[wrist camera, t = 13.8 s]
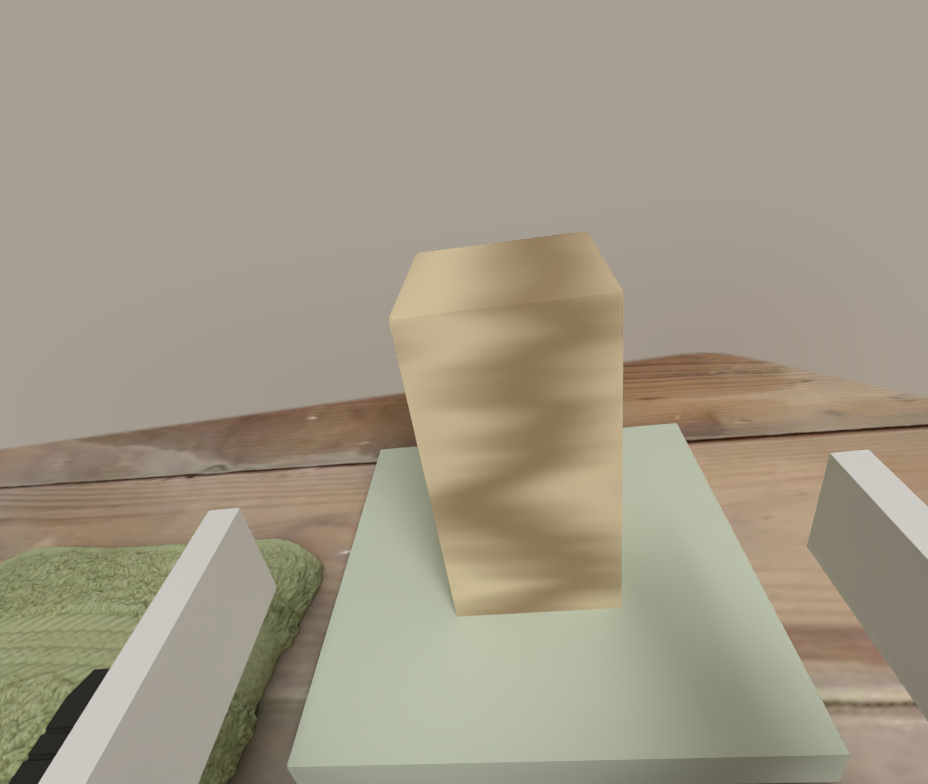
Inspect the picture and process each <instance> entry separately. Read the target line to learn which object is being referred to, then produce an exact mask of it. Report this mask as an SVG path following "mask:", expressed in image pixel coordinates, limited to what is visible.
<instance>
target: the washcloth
mask: <svg viewBox="0 0 928 784" xmlns="http://www.w3.org/2000/svg"><path fill="white" fill-rule="evenodd" d="M255 541H256V544H257V546H258V548H259V550H260V552H261V554H262V556H263V559H264V561H265V563H266V565H267V567H268V569H269V571H270V573H271V576H272V578H273V580H274V582H275V584H276V586H277V588H276V591H275V593H274V596H273V598H272V601H271V603H270V606H269V608H268V611H267V613H266V616H265V618H264V621H263V623H262V626H261V628H260V631H259V633H258V636H257V638H256V641H255V643H254V646H253V648H252V651H251V653H250V656H249V658H248V661H247V663H246V666H245V668H244V671H243V673H242V676H241V678H240V681H239V683H238V686H237V688H236V691H235V693H234V696H233V698H232V701H231V703H230V706H229V708H228V711H227V713H226V716H225V718H224V721H223V723H222V726H221V728H220V731H219V733H218V736H217V738H216V741H215V743H214V746H213V748H212V751H211V753H210V756H209V758H208V760H207V763H206V765H205V768H204V770H203V773H202V775H201V778H200V780H199V783H198V784H228V780H229V779H230V778H232V777H233V776H234V775H235V771H236V770H237V764H238V763H239V759H240V758H241V755H242V752H243V749H244V747H245V746H246V745H247V744H248V742H249V741H250V738H251V737H252V736H253V734H254V726H255V723H256V722H257V720H258V719H257V718H256V716H255V710H256V707H257V704H258V702H259V701H260V700H261V698H262V696H263V694H264V691H265V688H266V686H267V684H268V682H269V680H270V678H271V676H272V673H273V668H274V666H275V663H276V661H277V659H278V657H279V656H280V655H281V654H282V653H283V652H284V651H285V650H286V648H288V647H289V646H291V645H292V642H293V638H294V637H295V636H296V635H297V634H298V631H299V627H298V623H299V621H301V620H302V618H303V616H304V615H303V614H304V612H305V610H306V609H307V607H308V606H309V605H310V604H311V602H312V599H313V596H314V595H316V591H317V589H318V588H319V586H320V584H321V581H322V578H323V577H322V571H323V565H322V563H321V562H320V561H319V560H318V559H317V558H316V557H315V556H314V555H312V554H311V553H310V552H308V551H307V550H306V549H304V548H303V547H301V546H299V545H298V544H295V543H293V542H291V541H290V540H285V539H278V538H275V539H260V540H255ZM186 547H187V545H183V544H166V545H159V546H135V547H120V548H99V547H78V546H70V547H67V546H55V547H43V548H36V549H32V550H29V551H26V552H23V553H21V554H18V555H16V556H14V557H12V558H10V559H8V560H6V561H4V562H2V563H0V784H9V782H10V781H11V779H12V778H13V776H14V775H15V773H16V772H17V770H18V769H19V767H20V766H21V764H22V763H23V761H26V760H27V759H28V754H29V752H30V751H31V749H32V748H33V746H34V745H35V743H36V742H37V740H38V739H39V737H40V736H41V734H44V733H45V732H46V727H47V725H48V724H49V722H50V721H51V719H52V718H53V716H54V715H55V713H56V712H57V710H58V709H59V707H60V706H61V704H62V703H63V701H64V700H65V698H66V697H67V696H68V695H69V694H70V693H71V692H72V691H73V690H74V689H75V688H76V687H77V686H78V685H79V684H80V683H81V682H82V681H83V680H84V679H85V678H86V677H87V676H88V675H89V674H90V673H91V672H92V671H93V670H94V669H108V668H111V666H112V665H113V663H114V662H115V660H116V658H117V657H118V655H119V654H120V652H121V650H122V649H123V647H124V646H125V644H126V642H127V641H128V639H129V638H130V636H131V634H132V633H133V631H134V630H135V628H136V626H137V625H138V623H139V622H140V620H141V618H142V617H143V615H144V614H145V612H146V610H147V609H148V607H149V606H150V604H151V602H152V601H153V599H154V598H155V596H156V594H157V593H158V591H159V590H160V588H161V586H162V585H163V583H164V582H165V580H166V578H167V577H168V575H169V574H170V572H171V571H172V569H173V567H174V566H175V564H176V563H177V561H178V559H179V558H180V556H181V555H182V553H183V551H184V550H185V548H186Z"/></svg>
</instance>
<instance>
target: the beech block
mask: <svg viewBox="0 0 928 784" xmlns="http://www.w3.org/2000/svg"><path fill="white" fill-rule="evenodd" d="M389 324H390V328H391V332H392V337H393V341H394V346H395V350H396V354H397V359H398V363H399V367H400V372H401V376H402V380H403V384H404V389H405V394H406V398H407V402H408V407H409V411H410V415H411V420H412V424H413V428H414V433H415V437H416V441H417V446H418V450H419V454H420V459H421V463H422V467H423V472H424V476H425V480H426V485H427V489H428V493H429V498H430V502H431V506H432V511H433V515H434V519H435V524H436V528H437V532H438V537H439V541H440V545H441V550H442V554H443V558H444V563H445V567H446V571H447V576H448V580H449V584H450V589H451V593H452V597H453V602H454V606H455V610H456V615H457V617H459V616H477V615H496V614H515V613H534V612H553V611H572V610H591V609H610V608H622V443H623V291H622V289H621V287H620V285H619V284H618V282H617V280H616V279H615V277H614V275H613V274H612V272H611V270H610V269H609V267H608V265H607V264H606V262H605V260H604V259H603V257H602V255H601V253H600V252H599V250H598V248H597V247H596V245H595V243H594V242H593V240H592V238H591V237H590V235H589V233H588V232H587V231H583V232H576V233H568V234H560V235H553V236H545V237H538V238H530V239H522V240H514V241H507V242H499V243H491V244H484V245H477V246H468V247H461V248H454V249H446V250H438V251H430V252H423V253H417V254H416V256H415V258H414V261H413V263H412V265H411V268H410V270H409V272H408V275H407V277H406V279H405V282H404V284H403V286H402V289H401V291H400V294H399V296H398V298H397V301H396V303H395V305H394V308H393V310H392V313H391V315H390V317H389Z"/></svg>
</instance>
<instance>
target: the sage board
mask: <svg viewBox="0 0 928 784" xmlns="http://www.w3.org/2000/svg"><path fill="white" fill-rule="evenodd" d="M849 757H850V753H849V751H848V749H847V748H846V746H845V744H844V742H843V740H842V738H841V736H840V734H839V732H838V730H837V728H836V727H835V725H834V723H833V721H832V719H831V717H830V715H829V713H828V711H827V709H826V707H825V706H824V704H823V702H822V700H821V698H820V696H819V694H818V692H817V690H816V688H815V686H814V685H813V683H812V681H811V679H810V677H809V675H808V673H807V671H806V669H805V667H804V665H803V664H802V662H801V660H800V658H799V656H798V654H797V652H796V650H795V648H794V646H793V644H792V643H791V641H790V639H789V637H788V635H787V633H786V631H785V629H784V627H783V625H782V623H781V622H780V620H779V618H778V616H777V614H776V612H775V610H774V608H773V606H772V604H771V602H770V601H769V599H768V597H767V595H766V593H765V591H764V589H763V587H762V585H761V583H760V581H759V580H758V578H757V576H756V574H755V572H754V570H753V568H752V566H751V564H750V562H749V560H748V559H747V557H746V555H745V553H744V551H743V549H742V547H741V545H740V543H739V541H738V539H737V538H736V536H735V534H734V532H733V530H732V528H731V526H730V524H729V522H728V520H727V518H726V517H725V515H724V513H723V511H722V509H721V507H720V505H719V503H718V501H717V499H716V497H715V496H714V494H713V492H712V490H711V488H710V486H709V484H708V482H707V480H706V478H705V476H704V475H703V473H702V471H701V469H700V467H699V465H698V463H697V461H696V459H695V457H694V455H693V454H692V452H691V450H690V448H689V446H688V444H687V442H686V440H685V438H684V436H683V434H682V433H681V431H680V429H679V427H678V425H677V423H673V424H662V425H651V426H640V427H629V428H623V443H622V608H610V609H591V610H572V611H553V612H534V613H515V614H496V615H477V616H459V617H457V615H456V610H455V606H454V602H453V597H452V593H451V589H450V584H449V580H448V576H447V571H446V567H445V563H444V558H443V554H442V550H441V545H440V541H439V537H438V532H437V528H436V524H435V519H434V515H433V511H432V506H431V502H430V498H429V493H428V489H427V485H426V480H425V476H424V472H423V467H422V463H421V459H420V454H419V450H418V446H417V447H406V448H395V449H384V450H381V451H380V454H379V458H378V461H377V465H376V468H375V471H374V475H373V478H372V481H371V485H370V488H369V492H368V495H367V498H366V502H365V505H364V508H363V512H362V515H361V518H360V522H359V525H358V529H357V532H356V535H355V539H354V542H353V545H352V549H351V552H350V555H349V559H348V562H347V566H346V569H345V572H344V576H343V579H342V582H341V586H340V589H339V592H338V596H337V599H336V603H335V606H334V609H333V613H332V616H331V619H330V623H329V626H328V629H327V633H326V636H325V640H324V643H323V646H322V650H321V653H320V656H319V660H318V663H317V666H316V670H315V673H314V677H313V680H312V683H311V687H310V690H309V693H308V697H307V700H306V704H305V707H304V710H303V714H302V717H301V720H300V724H299V727H298V730H297V734H296V737H295V741H294V744H293V747H292V751H291V754H290V757H289V761H288V764H287V769H288V770H289V772H290V774H291V775H292V777H293V779H294V780H295V782H296V783H297V784H752V783H811V782H839V780H840V778H841V776H842V773H843V771H844V769H845V766H846V764H847V761H848V759H849Z"/></svg>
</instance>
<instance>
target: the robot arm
mask: <svg viewBox="0 0 928 784" xmlns="http://www.w3.org/2000/svg"><path fill="white" fill-rule="evenodd" d="M807 547H808V548H809V550H810V551H811V553H812V554H813V555H814V557H815V558H816V560H817V561H818V563H819V564H820V566H821V567H822V569H823V570H824V571H825V573H826V574H827V576H828V577H829V579H830V580H831V582H832V583H833V584H834V586H835V587H836V589H837V590H838V592H839V593H840V595H841V596H842V597H843V599H844V600H845V602H846V603H847V605H848V606H849V608H850V609H851V611H852V612H853V613H854V615H855V616H856V618H857V619H858V621H859V622H860V624H861V625H862V626H863V628H864V629H865V631H866V632H867V634H868V635H869V637H870V638H871V640H872V641H873V642H874V644H875V645H876V647H877V648H878V650H879V651H880V653H881V654H882V655H883V657H884V658H885V660H886V661H887V663H888V664H889V666H890V667H891V669H892V670H893V671H894V673H895V674H896V676H897V677H898V679H899V680H900V682H901V683H902V684H903V686H904V687H905V689H906V690H907V692H908V693H909V695H910V696H911V698H912V699H913V700H914V702H915V703H916V705H917V706H918V708H919V709H920V711H921V712H922V713H923V715H924V716H925V718H926V719H927V721H928V507H927V506H926V505H925V504H924V503H923V502H922V501H921V500H920V499H919V498H918V497H917V496H916V495H915V494H914V493H913V492H912V491H911V490H910V489H909V488H908V487H907V486H906V485H905V484H904V483H902V482H901V481H900V480H899V479H898V478H897V477H896V476H895V475H894V474H893V473H892V472H891V471H890V470H889V469H888V468H887V467H886V466H885V465H884V464H883V463H882V462H881V461H880V460H879V459H878V458H877V457H876V456H875V455H874V454H873V453H872V452H871V451H869V450H859V451H849V452H838V453H830V455H829V459H828V463H827V468H826V472H825V476H824V480H823V484H822V488H821V492H820V496H819V500H818V504H817V508H816V512H815V516H814V520H813V524H812V528H811V532H810V537H809V541H808V545H807ZM276 588H277V586H276V584H275V582H274V580H273V578H272V576H271V573H270V571H269V569H268V567H267V565H266V563H265V561H264V559H263V556H262V554H261V552H260V550H259V548H258V546H257V544H256V541H255V539H254V537H253V535H252V533H251V531H250V529H249V527H248V524H247V522H246V520H245V518H244V516H243V514H242V512H241V510H240V508H233V509H222V510H211V511H208V513H207V515H206V516H205V518H204V519H203V521H202V523H201V524H200V526H199V527H198V529H197V531H196V532H195V534H194V535H193V537H192V539H191V540H190V542H189V543H188V545H187V547H186V548H185V550H184V551H183V553H182V555H181V556H180V558H179V559H178V561H177V563H176V564H175V566H174V567H173V569H172V571H171V572H170V574H169V575H168V577H167V578H166V580H165V582H164V583H163V585H162V586H161V588H160V590H159V591H158V593H157V594H156V596H155V598H154V599H153V601H152V602H151V604H150V606H149V607H148V609H147V610H146V612H145V614H144V615H143V617H142V618H141V620H140V622H139V623H138V625H137V626H136V628H135V630H134V631H133V633H132V634H131V636H130V638H129V639H128V641H127V642H126V644H125V646H124V647H123V649H122V650H121V652H120V654H119V655H118V657H117V658H116V660H115V662H114V663H113V665H112V666H111V668H108V669H94V670H93V671H92V672H91V673H90V674H89V675H88V676H87V677H86V678H85V679H84V680H83V681H82V682H81V683H80V684H79V685H78V686H77V687H76V688H75V689H74V690H73V691H72V692H71V693H70V694H69V695H68V696H67V697H66V698H65V700H64V701H63V703H62V704H61V706H60V707H59V709H58V710H57V712H56V713H55V715H54V716H53V718H52V719H51V721H50V722H49V724H48V725H47V727H46V732H45V733H44V734H41V736H40V737H39V739H38V740H37V742H36V743H35V745H34V746H33V748H32V749H31V751H30V752H29V754H28V759H27V760H26V761H23V763H22V764H21V766H20V767H19V769H18V770H17V772H16V773H15V775H14V776H13V778H12V779H11V781H10V782H9V784H198V783H199V780H200V778H201V775H202V773H203V770H204V768H205V765H206V763H207V760H208V758H209V756H210V753H211V751H212V748H213V746H214V743H215V741H216V738H217V736H218V733H219V731H220V728H221V726H222V723H223V721H224V718H225V716H226V713H227V711H228V708H229V706H230V703H231V701H232V698H233V696H234V693H235V691H236V688H237V686H238V683H239V681H240V678H241V676H242V673H243V671H244V668H245V666H246V663H247V661H248V658H249V656H250V653H251V651H252V648H253V646H254V643H255V641H256V638H257V636H258V633H259V631H260V628H261V626H262V623H263V621H264V618H265V616H266V613H267V611H268V608H269V606H270V603H271V601H272V598H273V596H274V593H275V591H276Z"/></svg>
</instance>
